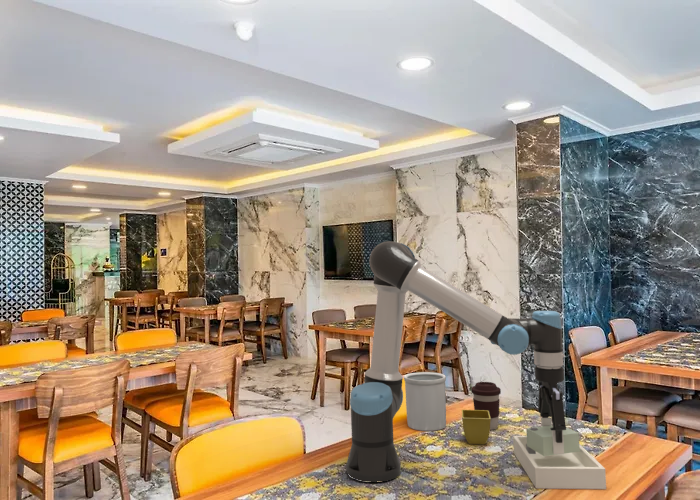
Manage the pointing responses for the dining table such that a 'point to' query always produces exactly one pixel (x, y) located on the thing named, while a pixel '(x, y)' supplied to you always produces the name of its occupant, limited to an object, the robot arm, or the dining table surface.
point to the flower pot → (476, 426)
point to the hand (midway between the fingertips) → (552, 447)
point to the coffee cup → (487, 400)
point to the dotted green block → (542, 440)
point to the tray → (560, 468)
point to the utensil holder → (425, 401)
